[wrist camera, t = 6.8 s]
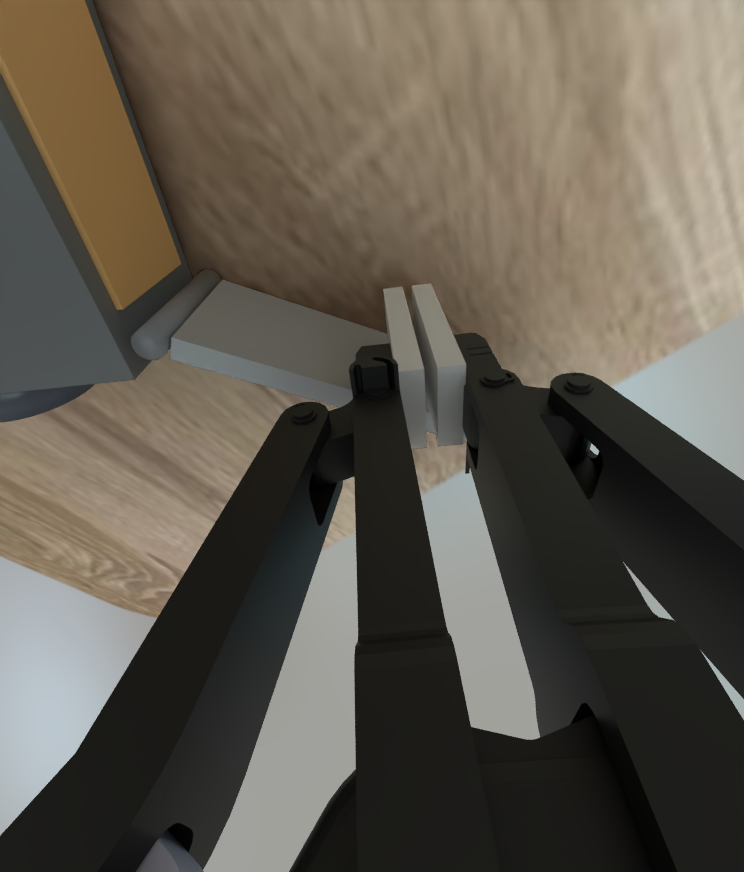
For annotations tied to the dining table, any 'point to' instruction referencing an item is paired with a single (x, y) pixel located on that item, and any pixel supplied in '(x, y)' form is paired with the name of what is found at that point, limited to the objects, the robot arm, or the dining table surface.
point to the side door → (258, 340)
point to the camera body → (73, 212)
